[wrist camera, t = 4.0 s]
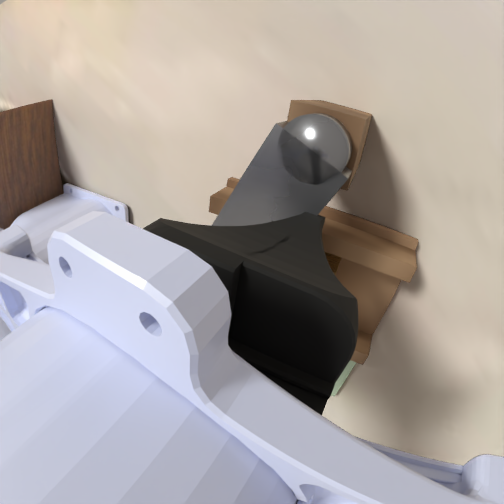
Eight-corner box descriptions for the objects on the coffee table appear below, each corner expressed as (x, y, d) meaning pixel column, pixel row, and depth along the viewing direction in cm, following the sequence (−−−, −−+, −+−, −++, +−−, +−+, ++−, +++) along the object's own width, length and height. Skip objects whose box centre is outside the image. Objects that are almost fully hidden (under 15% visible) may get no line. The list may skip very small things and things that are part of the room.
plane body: (218, 287, 24) (177, 332, 20) (244, 85, 16) (187, 84, 12) (365, 344, 21) (350, 406, 16) (451, 143, 13) (481, 164, 8)
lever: (172, 303, 18) (160, 315, 17) (304, 95, 10) (295, 95, 9) (210, 335, 18) (200, 348, 17) (371, 146, 10) (370, 151, 9)
